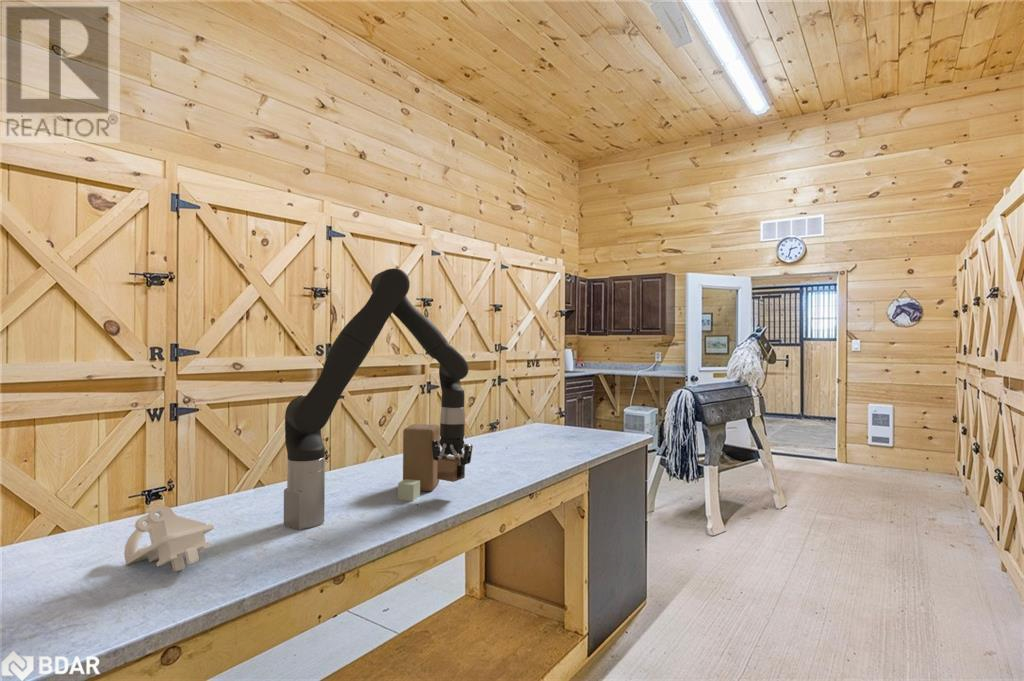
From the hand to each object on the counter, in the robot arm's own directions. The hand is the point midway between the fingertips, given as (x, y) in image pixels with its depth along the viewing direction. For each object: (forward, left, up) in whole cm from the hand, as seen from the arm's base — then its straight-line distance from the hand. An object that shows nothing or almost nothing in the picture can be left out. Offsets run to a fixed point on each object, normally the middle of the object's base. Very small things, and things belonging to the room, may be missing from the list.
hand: (451, 475), depth 164 cm
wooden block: (+4, +15, -7) cm, 17 cm away
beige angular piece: (-70, +24, -7) cm, 75 cm away
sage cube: (-7, +11, -7) cm, 14 cm away
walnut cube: (0, 0, -1) cm, 1 cm away
